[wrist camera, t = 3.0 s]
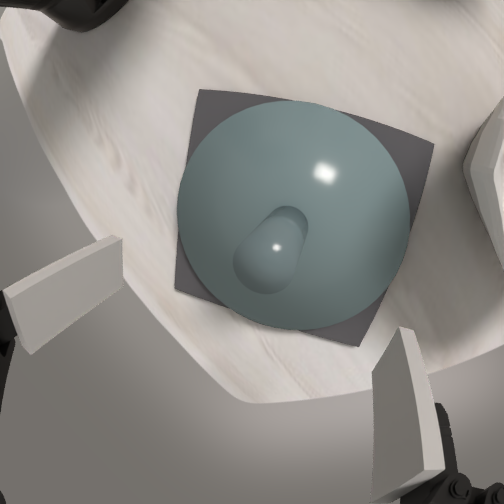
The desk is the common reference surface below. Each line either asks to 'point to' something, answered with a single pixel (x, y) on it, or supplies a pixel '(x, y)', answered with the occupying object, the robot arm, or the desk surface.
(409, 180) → the mat
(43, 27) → the desk surface
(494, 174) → the bowl
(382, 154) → the lid
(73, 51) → the desk surface
